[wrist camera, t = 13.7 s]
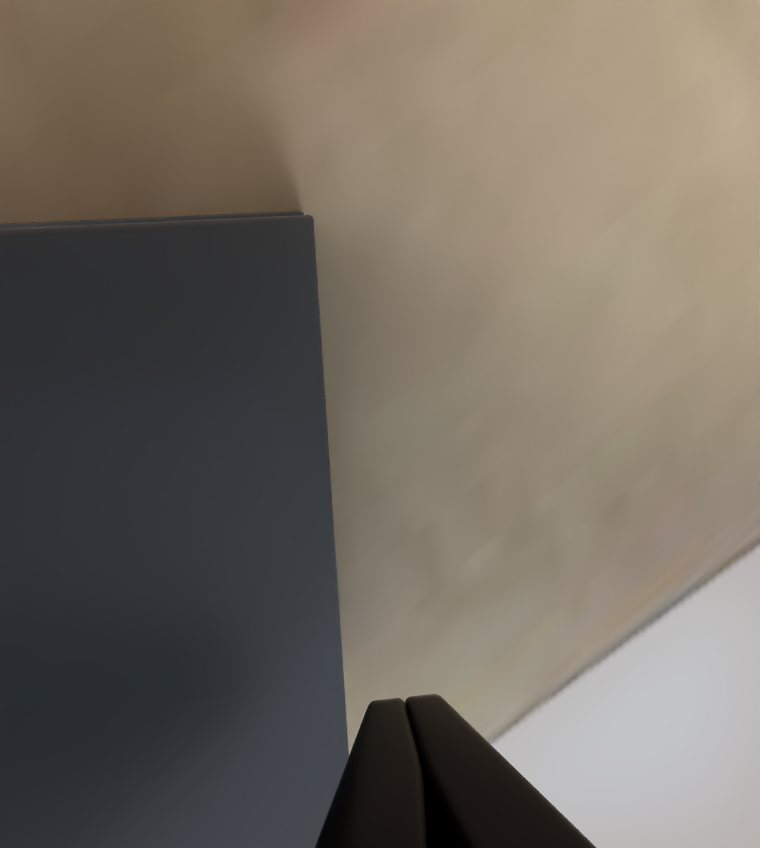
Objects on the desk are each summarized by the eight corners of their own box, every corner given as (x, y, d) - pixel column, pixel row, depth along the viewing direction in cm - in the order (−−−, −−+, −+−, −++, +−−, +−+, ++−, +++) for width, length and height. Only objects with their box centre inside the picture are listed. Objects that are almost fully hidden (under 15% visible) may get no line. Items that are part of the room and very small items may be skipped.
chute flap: (287, 215, 8) (315, 215, 8) (344, 960, 12) (364, 972, 11) (-215, 238, 4) (-185, 237, 4) (98, 1355, 8) (122, 1383, 7)
